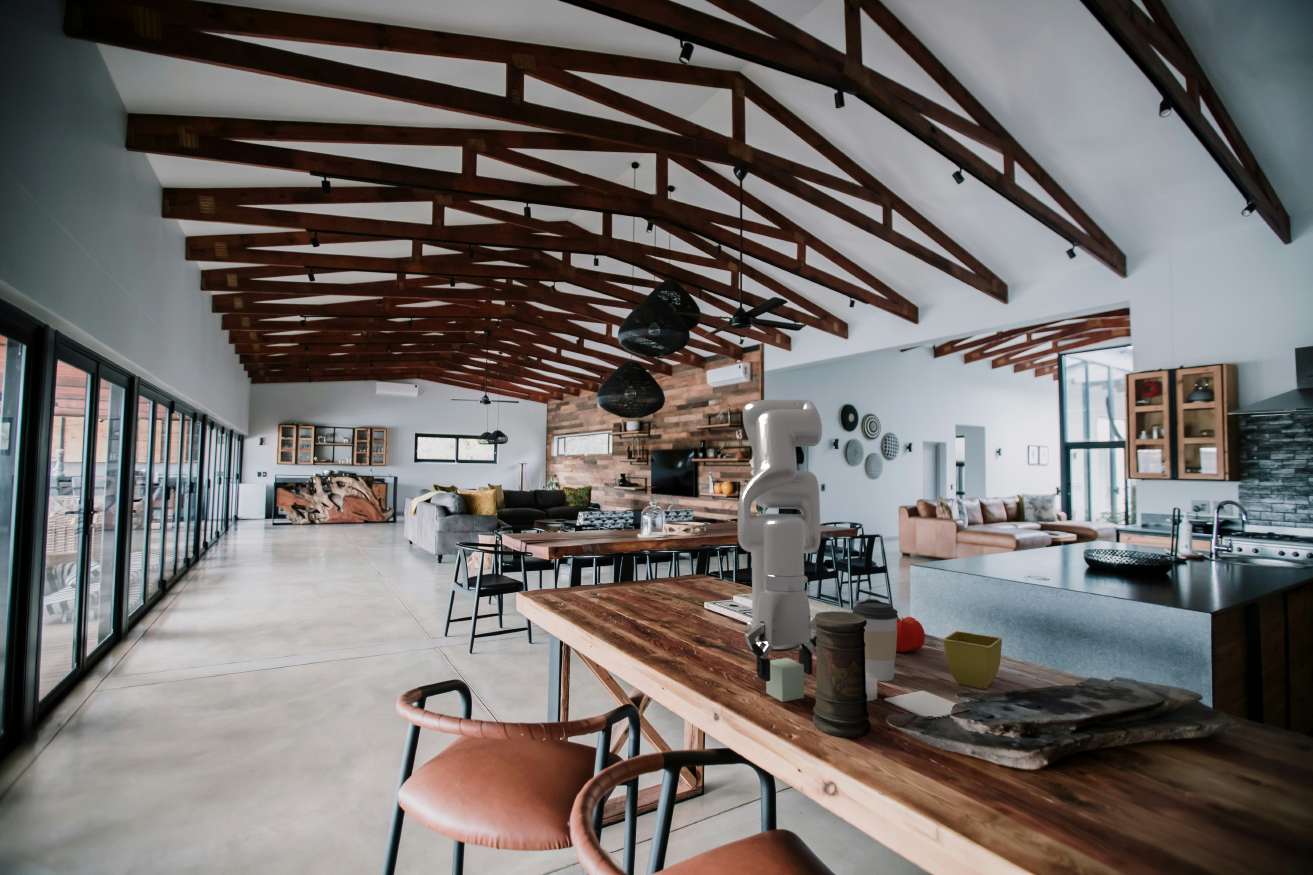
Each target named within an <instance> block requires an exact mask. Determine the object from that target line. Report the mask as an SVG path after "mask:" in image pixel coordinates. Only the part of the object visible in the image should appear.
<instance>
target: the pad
mask: <svg viewBox="0 0 1313 875" xmlns="http://www.w3.org/2000/svg"><path fill="white" fill-rule="evenodd" d="M884 701H885V702H888V703H891V704H892V705H894V706H896V707H899V708H901V709H904V710H906V711H908V712H911V713H913V714H915V715H917V716H919V717H921V716H933V717H940V718H944V717H948V715H949V716H951V715H950V714H951V710H952V707H953V706H954V705H955V704H957V703H956V702H954V701H951V700H949V699H946V698H944V697H941V696H938V695H936V694H933V693H931V692H929V691H926V690H919V691H915V692H910V693H904V694H899V695H896V696H891V697H885V698H884ZM943 716H944V717H943Z"/></svg>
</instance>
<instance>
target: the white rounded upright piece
mask: <svg viewBox="0 0 1313 875" xmlns="http://www.w3.org/2000/svg"><path fill="white" fill-rule="evenodd" d="M866 694H867V702H870V701H875V700H877V699H878V681H877V677H876V676H874V675H872V674H869V673H866Z"/></svg>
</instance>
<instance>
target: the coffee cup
mask: <svg viewBox="0 0 1313 875" xmlns="http://www.w3.org/2000/svg"><path fill="white" fill-rule="evenodd" d="M851 613H854V614H858V615H861V616H863V617H865V618H866V621H867V624H866V626H865V627H864V628H865V632H864V642H865V644H866V646H865V672H866V673H869V674H872V675H874V676H876V677H877V682H888V681H889V682H890V681H892V680H894V678H895V677H894V676H895V662H896V657H897V651H896V644H897V628H896V627H897V618H899V615H898V610H897V609H896V608H894V607H893V604H891V603H888V602H884V601H883V602H882V601H881V600H879V599H876V598H875V599H874V598H868V599H865V600H863V601H858V602H857V603H856V606H852V612H851Z"/></svg>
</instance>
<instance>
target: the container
mask: <svg viewBox="0 0 1313 875" xmlns="http://www.w3.org/2000/svg"><path fill="white" fill-rule="evenodd" d="M813 619H814V623H816V624H817V625H816V628H817V638H816V647H815V652H816V655H815V656H816V657H815V658H816V683H815V684H816V685H815V686H816V687H815V690H814V691H815V704H814V706H813V712H814V714H813V715H812V723H813V725H814V726H815V727H816V729H818V730H819V731H821V732H823V733H826V734H828V735H831V736H836V737H844V738H858V737H863V736H865V735H868V733H869V732H870V730H871V722H870V720H869V718H870V716H871V715H870V712H869V711H868V704H867V703H868V701H867V694H866V672H865V646H866V644H865V642H864V632H865V628H864V627H865V626H866V624H867V621H866V618H865V617H863V616H861V615H858V614H854V613H852V612H846V611H821V612H817V613H816V614H815V615H814V618H813Z"/></svg>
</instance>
